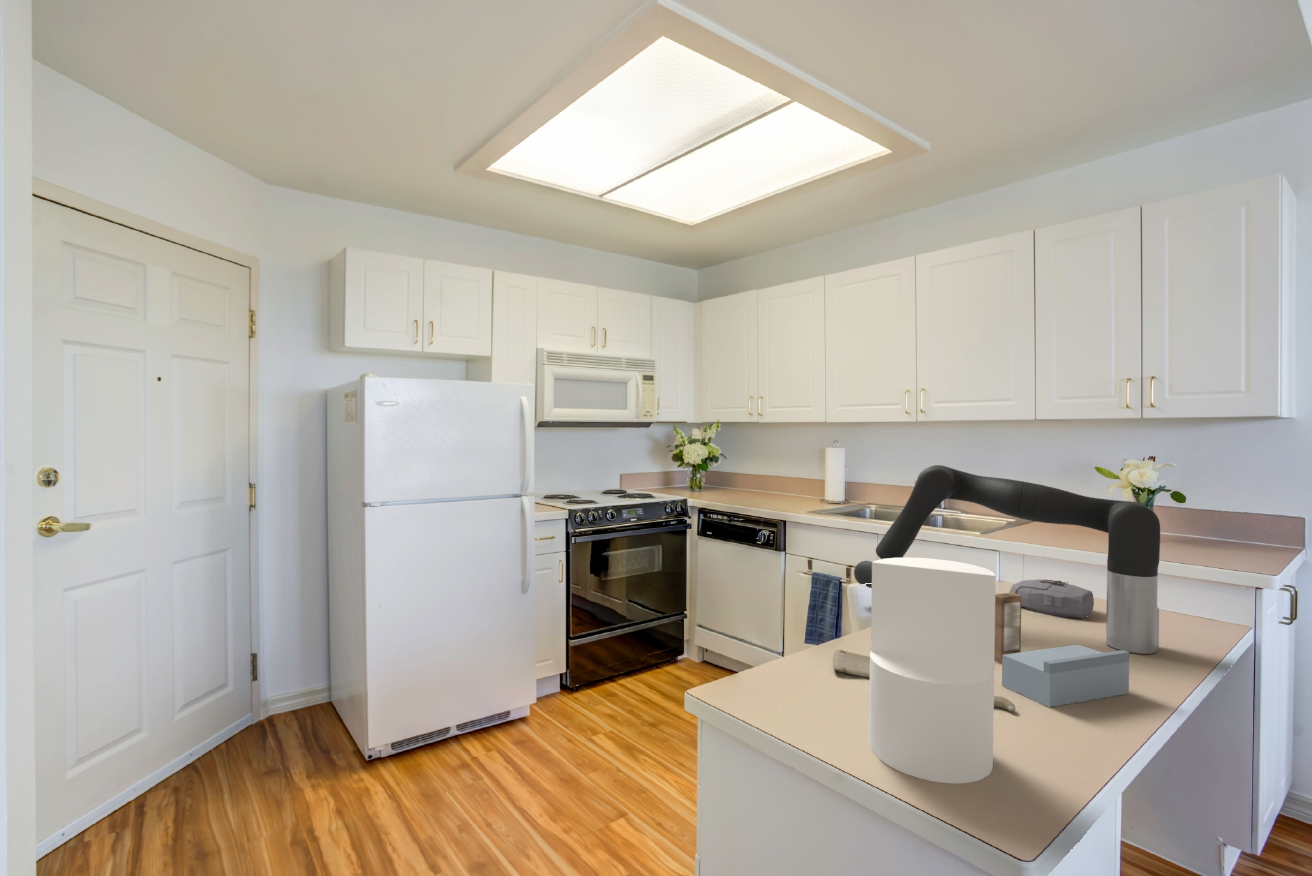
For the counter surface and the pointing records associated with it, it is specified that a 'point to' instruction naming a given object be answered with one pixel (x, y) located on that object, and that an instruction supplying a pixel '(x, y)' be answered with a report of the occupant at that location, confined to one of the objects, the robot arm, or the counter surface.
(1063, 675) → the display riser
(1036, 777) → the counter surface
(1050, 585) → the grey rounded bag
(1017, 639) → the brown wooden block
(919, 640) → the cylinder
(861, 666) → the decorative wall piece
